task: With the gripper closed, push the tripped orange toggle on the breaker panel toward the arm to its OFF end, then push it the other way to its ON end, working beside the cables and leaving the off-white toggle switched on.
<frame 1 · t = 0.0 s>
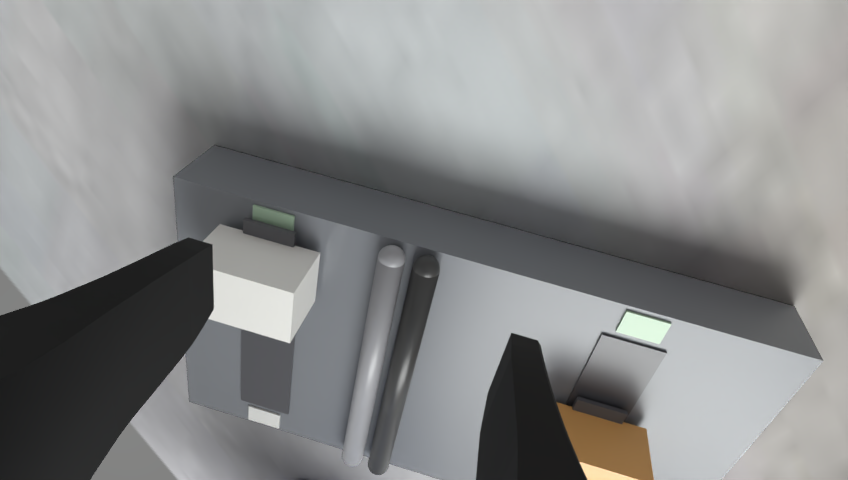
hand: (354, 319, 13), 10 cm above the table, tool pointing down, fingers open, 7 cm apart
breaker panel: (458, 337, 26), on the table
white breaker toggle: (254, 281, 21), point 5 cm above the table, slide at 4.0 cm
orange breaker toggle: (587, 457, 22), point 5 cm above the table, slide at 0.0 cm
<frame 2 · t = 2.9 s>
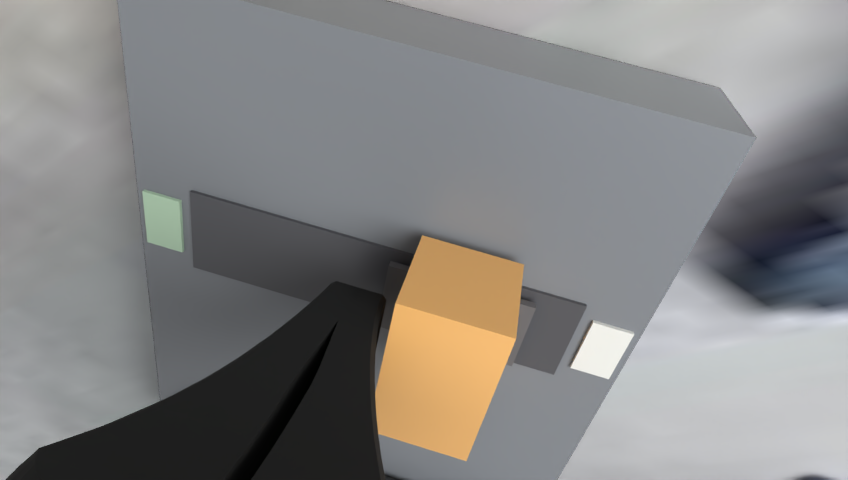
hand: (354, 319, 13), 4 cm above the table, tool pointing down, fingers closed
breaker panel: (375, 360, 20), on the table
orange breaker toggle: (444, 347, 13), point 5 cm above the table, slide at -2.1 cm, touching gripper
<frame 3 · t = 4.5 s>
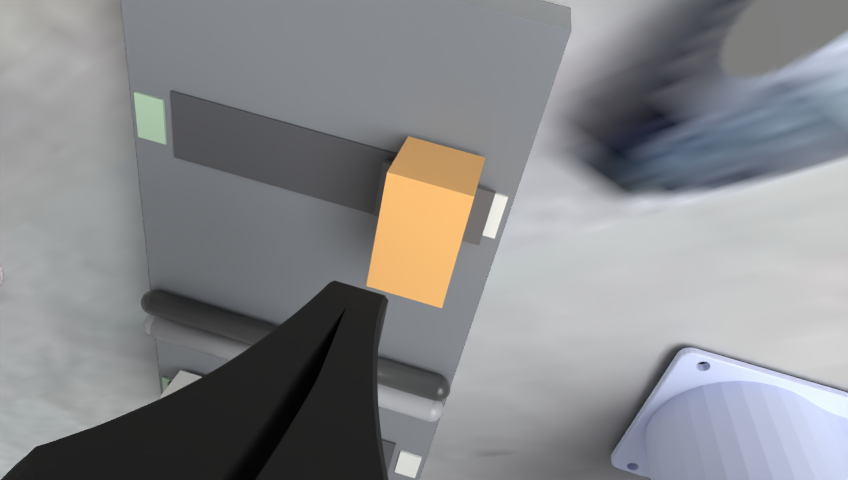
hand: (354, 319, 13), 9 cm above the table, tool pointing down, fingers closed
breaker panel: (328, 256, 24), on the table
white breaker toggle: (192, 427, 26), point 5 cm above the table, slide at 4.0 cm
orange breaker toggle: (425, 222, 17), point 5 cm above the table, slide at -4.1 cm
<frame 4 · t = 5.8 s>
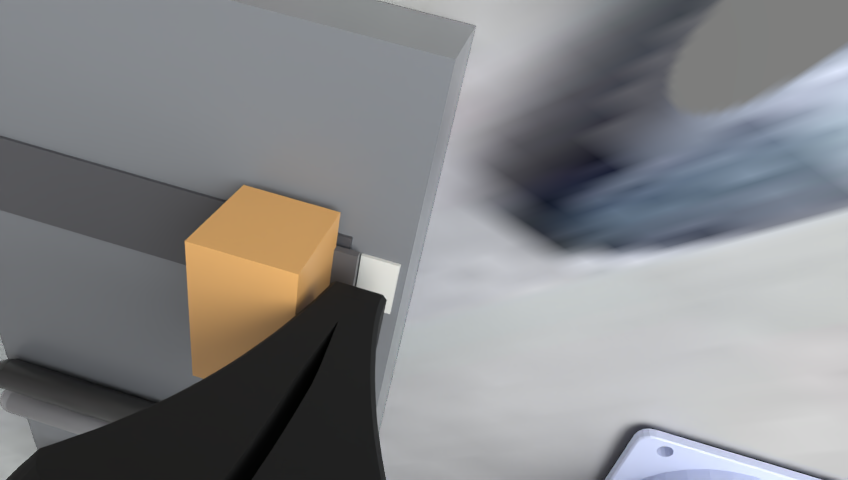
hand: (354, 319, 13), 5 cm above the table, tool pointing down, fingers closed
breaker panel: (224, 315, 21), on the table
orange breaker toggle: (266, 294, 13), point 5 cm above the table, slide at -3.5 cm, touching gripper
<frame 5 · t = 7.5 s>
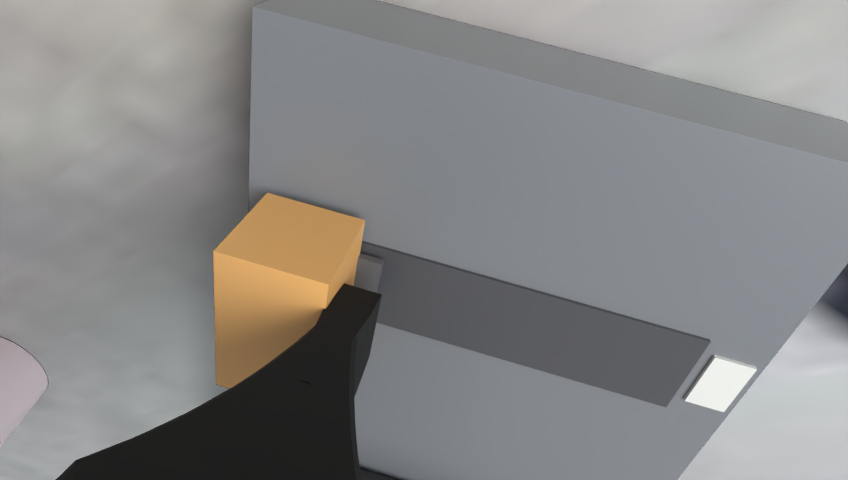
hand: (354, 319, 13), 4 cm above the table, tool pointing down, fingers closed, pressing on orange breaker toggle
breaker panel: (455, 385, 20), on the table
smoothie: (12, 362, 25), on the table
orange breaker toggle: (290, 302, 13), point 5 cm above the table, slide at 4.7 cm, touching gripper
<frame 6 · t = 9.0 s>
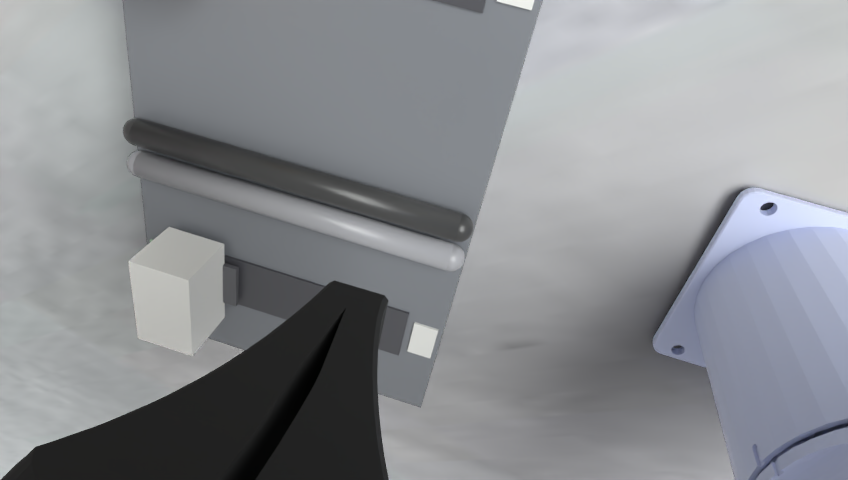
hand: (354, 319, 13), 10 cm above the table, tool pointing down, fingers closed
breaker panel: (336, 93, 22), on the table
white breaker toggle: (181, 291, 23), point 5 cm above the table, slide at 4.0 cm
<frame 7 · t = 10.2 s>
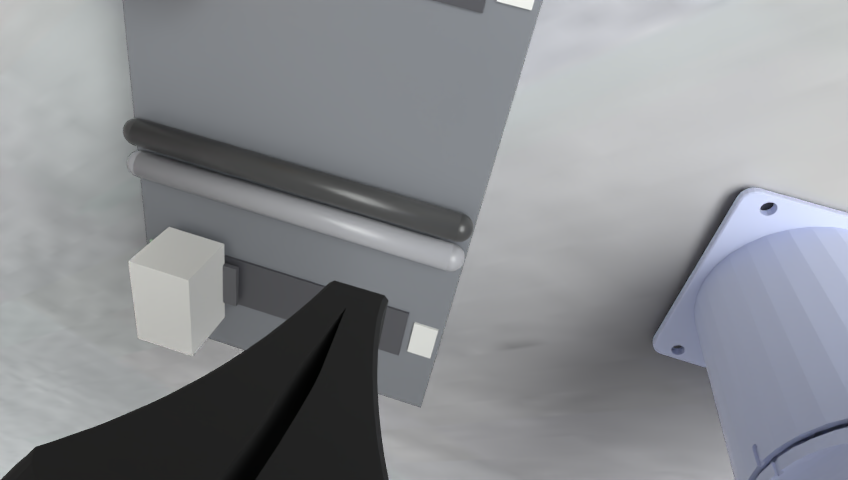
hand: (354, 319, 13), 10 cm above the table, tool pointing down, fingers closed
breaker panel: (336, 93, 22), on the table
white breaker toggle: (181, 291, 23), point 5 cm above the table, slide at 4.0 cm
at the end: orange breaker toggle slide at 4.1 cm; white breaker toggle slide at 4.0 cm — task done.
